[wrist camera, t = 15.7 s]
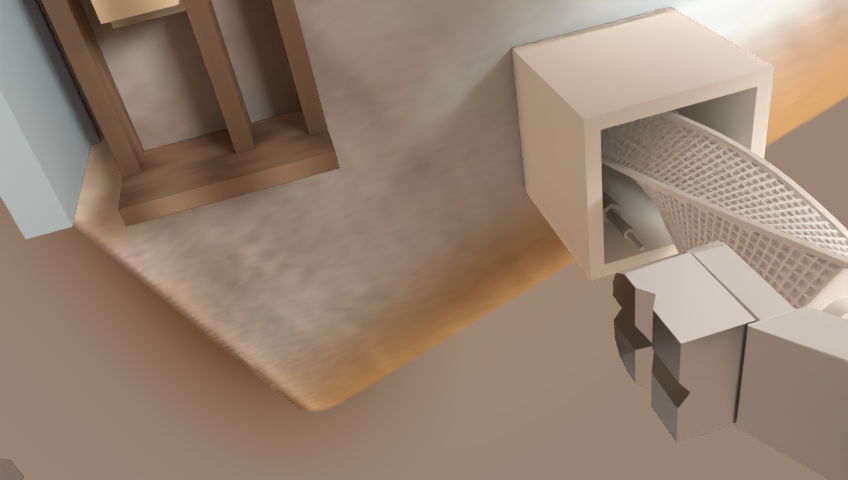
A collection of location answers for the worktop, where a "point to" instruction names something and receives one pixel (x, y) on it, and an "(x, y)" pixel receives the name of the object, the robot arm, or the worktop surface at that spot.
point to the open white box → (625, 121)
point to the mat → (62, 70)
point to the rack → (213, 153)
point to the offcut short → (127, 8)
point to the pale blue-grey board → (36, 131)
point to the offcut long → (149, 15)
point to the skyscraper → (731, 206)
